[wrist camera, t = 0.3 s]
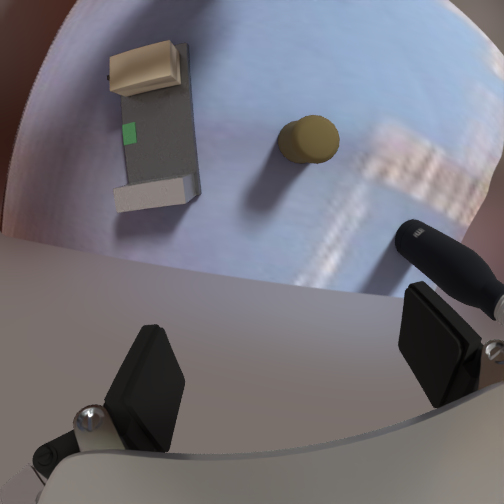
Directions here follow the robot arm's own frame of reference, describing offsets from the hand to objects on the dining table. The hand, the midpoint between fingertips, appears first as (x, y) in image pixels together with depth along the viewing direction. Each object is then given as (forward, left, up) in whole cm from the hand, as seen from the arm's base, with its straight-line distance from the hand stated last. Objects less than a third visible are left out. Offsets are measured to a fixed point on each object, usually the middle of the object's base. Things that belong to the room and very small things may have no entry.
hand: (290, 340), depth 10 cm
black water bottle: (+7, +24, -31) cm, 39 cm away
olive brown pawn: (-8, +6, -31) cm, 32 cm away
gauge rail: (-13, -13, -30) cm, 35 cm away
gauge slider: (-20, -14, -29) cm, 37 cm away
